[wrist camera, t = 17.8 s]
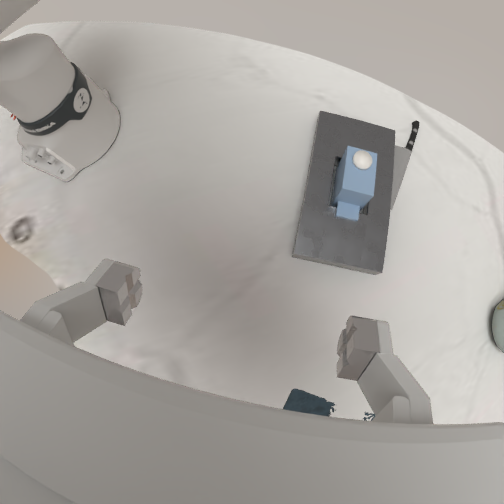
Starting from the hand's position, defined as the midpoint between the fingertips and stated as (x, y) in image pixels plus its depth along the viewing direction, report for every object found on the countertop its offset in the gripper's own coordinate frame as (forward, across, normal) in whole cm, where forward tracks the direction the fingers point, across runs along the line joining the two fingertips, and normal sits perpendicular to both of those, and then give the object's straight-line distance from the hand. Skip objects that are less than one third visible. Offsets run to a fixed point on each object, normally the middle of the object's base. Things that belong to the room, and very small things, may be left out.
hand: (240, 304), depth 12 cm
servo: (+35, -9, +9) cm, 37 cm away
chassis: (+35, -9, +9) cm, 37 cm away
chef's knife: (+41, -17, +4) cm, 45 cm away
